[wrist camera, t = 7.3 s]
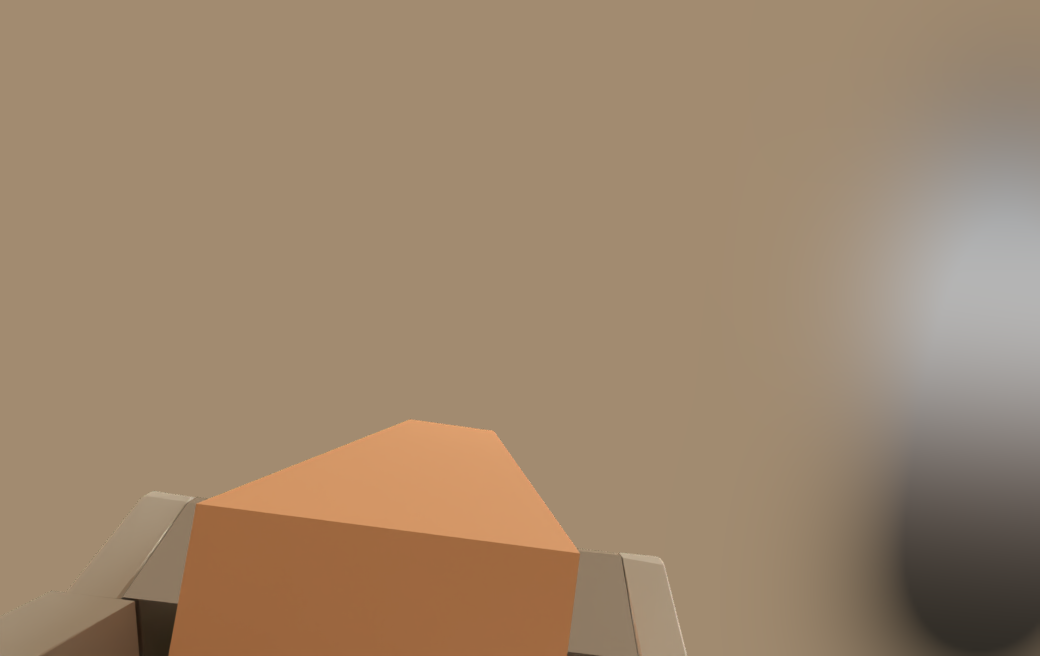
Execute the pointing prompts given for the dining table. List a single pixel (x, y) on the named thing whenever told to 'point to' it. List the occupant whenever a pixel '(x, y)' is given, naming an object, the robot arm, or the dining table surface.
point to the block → (381, 556)
